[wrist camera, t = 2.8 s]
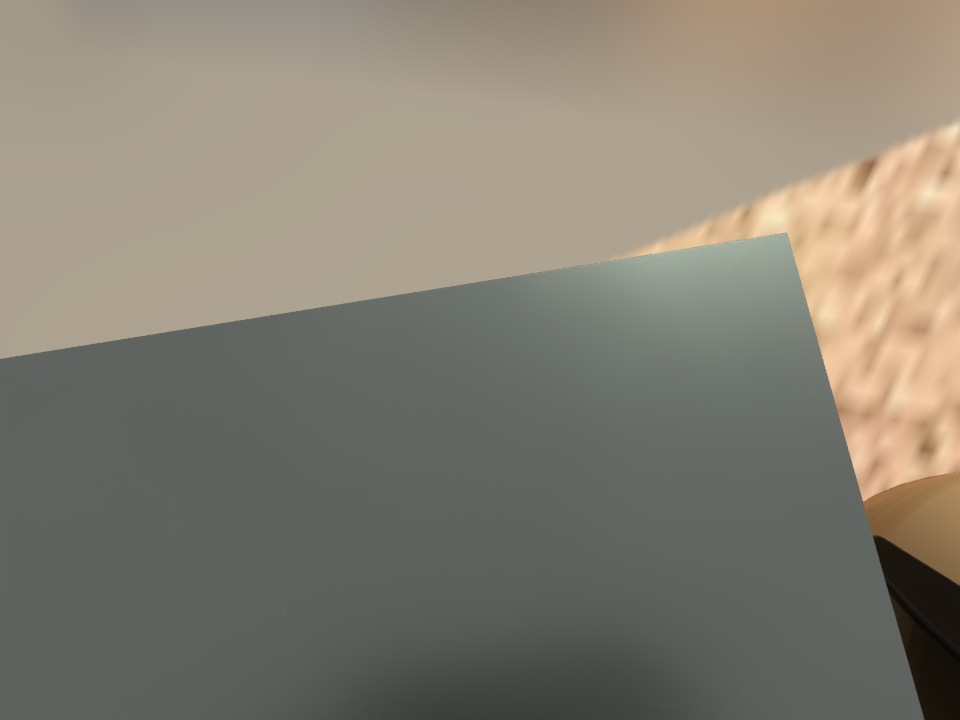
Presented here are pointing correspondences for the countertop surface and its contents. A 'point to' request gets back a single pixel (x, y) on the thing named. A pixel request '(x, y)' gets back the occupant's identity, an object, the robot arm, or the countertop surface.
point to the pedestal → (922, 520)
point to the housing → (451, 511)
